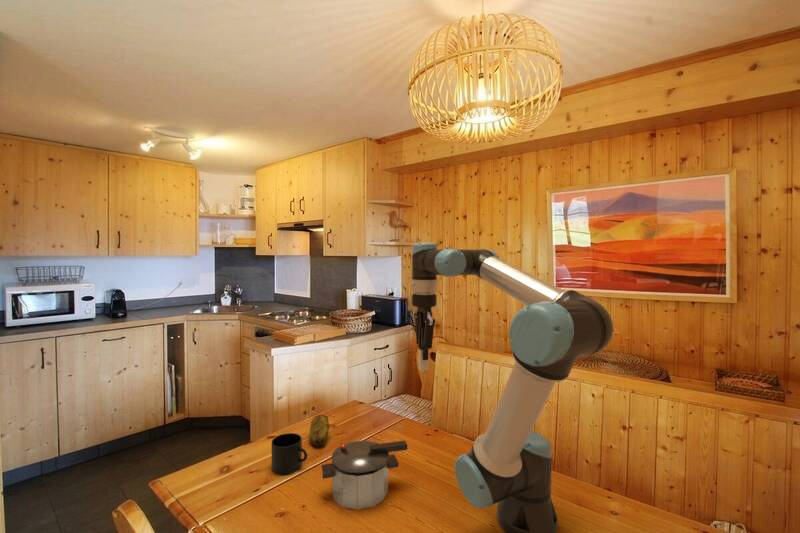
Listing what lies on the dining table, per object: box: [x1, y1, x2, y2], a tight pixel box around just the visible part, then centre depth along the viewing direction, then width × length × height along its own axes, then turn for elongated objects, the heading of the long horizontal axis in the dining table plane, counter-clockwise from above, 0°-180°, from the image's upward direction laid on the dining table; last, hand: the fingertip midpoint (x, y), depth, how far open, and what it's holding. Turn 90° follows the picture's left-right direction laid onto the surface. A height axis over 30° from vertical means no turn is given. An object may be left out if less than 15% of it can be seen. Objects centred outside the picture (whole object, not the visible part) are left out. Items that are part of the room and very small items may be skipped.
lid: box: [331, 440, 408, 473], centre depth 111 cm, size 17×22×3 cm
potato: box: [309, 414, 330, 448], centre depth 141 cm, size 8×13×8 cm, turn 171°
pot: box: [321, 454, 399, 511], centre depth 112 cm, size 17×22×9 cm
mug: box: [271, 432, 308, 476], centre depth 123 cm, size 9×12×9 cm
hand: (423, 369), depth 116 cm, fingers closed
